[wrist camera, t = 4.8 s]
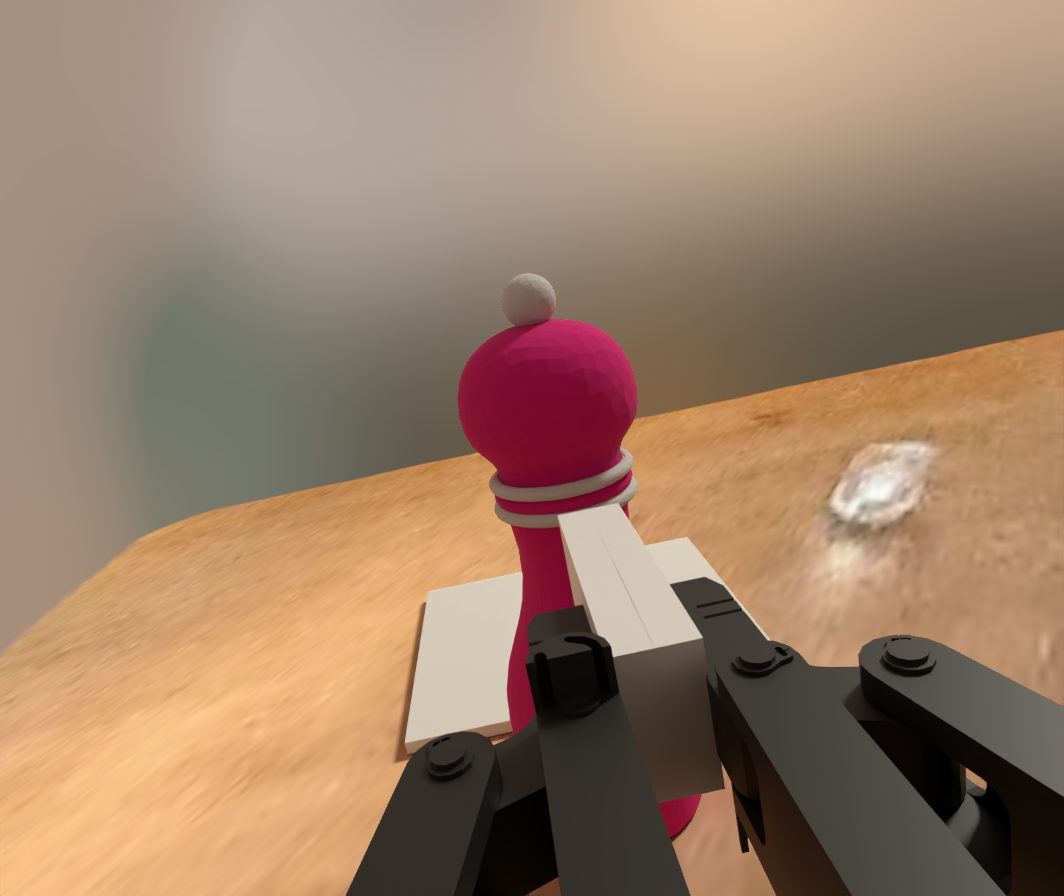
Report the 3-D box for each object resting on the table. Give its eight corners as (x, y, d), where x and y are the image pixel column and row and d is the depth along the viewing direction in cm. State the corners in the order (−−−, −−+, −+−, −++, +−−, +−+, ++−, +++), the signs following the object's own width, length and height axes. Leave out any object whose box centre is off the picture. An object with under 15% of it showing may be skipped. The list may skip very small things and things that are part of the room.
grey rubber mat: (788, 671, 33) (787, 660, 32) (407, 754, 32) (404, 743, 32) (688, 544, 48) (686, 536, 48) (430, 599, 48) (428, 591, 47)
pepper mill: (756, 815, 25) (679, 243, 20) (572, 902, 23) (437, 292, 18) (657, 709, 32) (581, 261, 27) (508, 770, 30) (397, 298, 25)
